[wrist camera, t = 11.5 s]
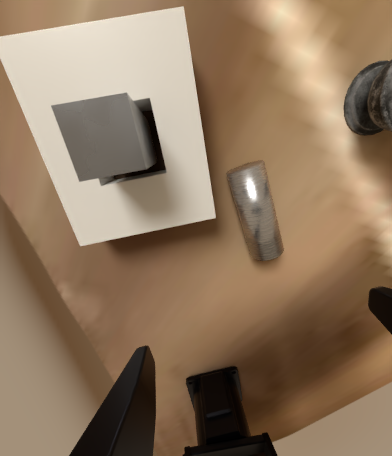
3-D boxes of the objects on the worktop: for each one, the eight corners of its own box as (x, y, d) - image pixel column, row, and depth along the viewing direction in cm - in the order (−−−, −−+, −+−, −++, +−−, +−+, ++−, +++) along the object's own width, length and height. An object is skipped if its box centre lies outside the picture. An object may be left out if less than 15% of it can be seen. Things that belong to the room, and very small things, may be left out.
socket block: (208, 206, 18) (215, 217, 15) (96, 229, 18) (80, 246, 15) (180, 40, 14) (183, 6, 11) (34, 65, 14) (-9, 38, 11)
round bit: (276, 239, 20) (289, 254, 18) (247, 248, 21) (255, 264, 18) (257, 159, 18) (269, 162, 15) (224, 171, 18) (229, 176, 15)
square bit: (157, 162, 17) (146, 169, 9) (121, 169, 17) (79, 182, 9) (148, 121, 16) (126, 92, 8) (109, 128, 16) (51, 105, 8)
